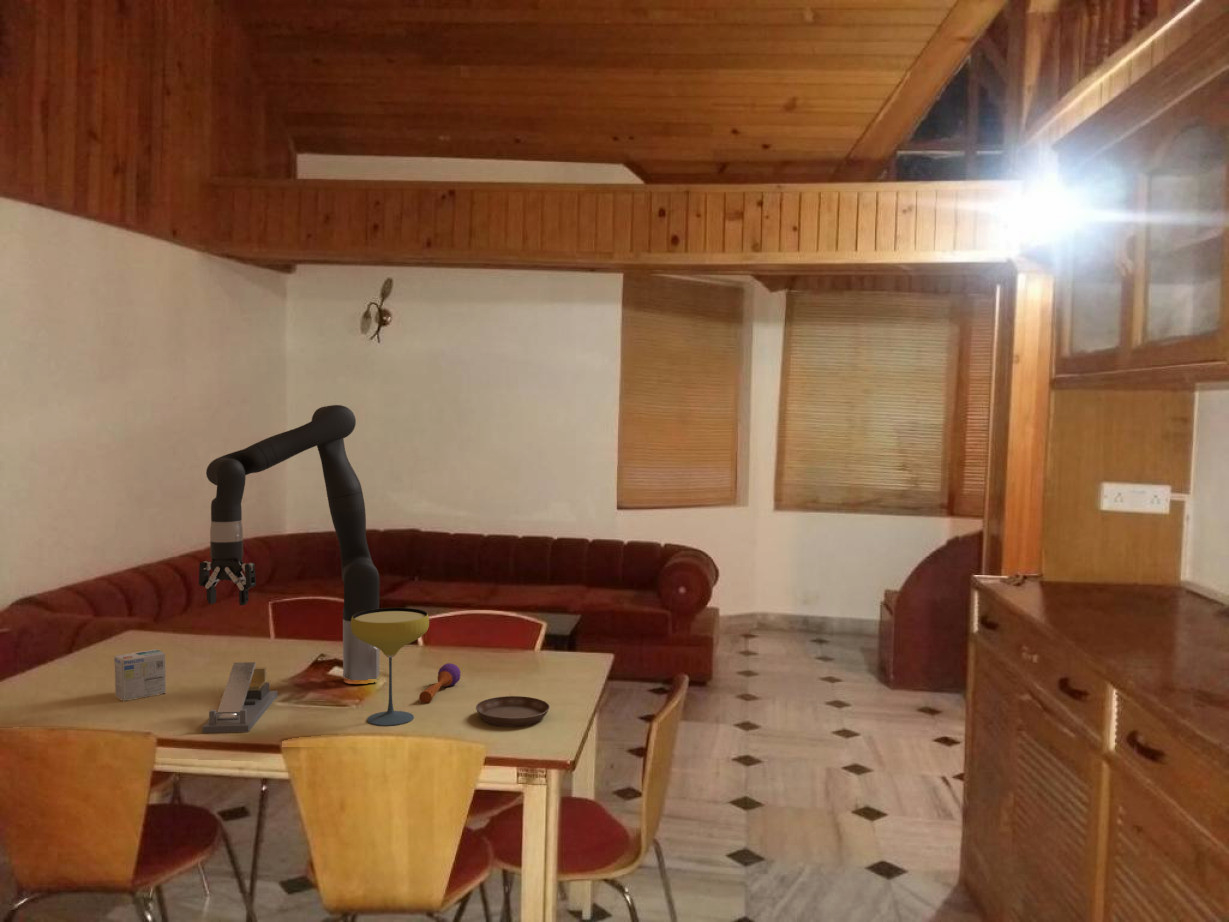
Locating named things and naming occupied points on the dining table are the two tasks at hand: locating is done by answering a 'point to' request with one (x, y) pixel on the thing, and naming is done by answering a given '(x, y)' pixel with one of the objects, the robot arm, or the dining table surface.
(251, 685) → the block
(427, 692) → the purple maraca
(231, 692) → the grey flat bar
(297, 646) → the dining table surface
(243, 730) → the base
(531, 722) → the plant saucer
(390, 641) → the cocktail glass
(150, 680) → the light bulb box
